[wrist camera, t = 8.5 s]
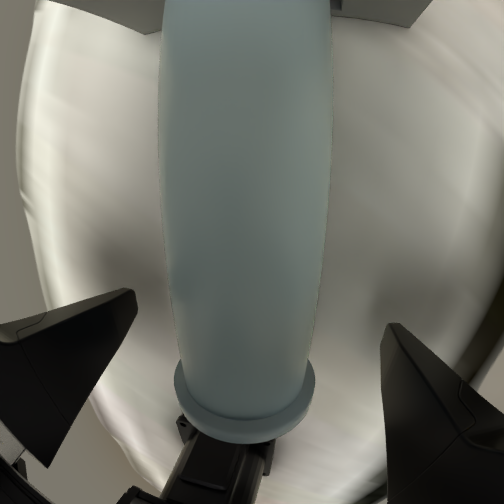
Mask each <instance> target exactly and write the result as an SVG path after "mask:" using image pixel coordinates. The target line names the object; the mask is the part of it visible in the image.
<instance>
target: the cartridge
mask: <svg viewBox="0 0 504 504" xmlns="http://www.w3.org/2000/svg"><path fill="white" fill-rule="evenodd" d="M332 131H333V50H332V28H331V12H330V0H165V6H164V14H163V24H162V35H161V47H160V63H159V85H158V159H159V183H160V200H161V214H162V226H163V237H164V247H165V257H166V265H167V274H168V282H169V289H170V296H171V303H172V310H173V316H174V323H175V329H176V334H177V340H178V346H179V351H180V356H181V359H180V361H179V363H178V365H177V367H176V370H175V375H174V386H175V390H176V394H177V398H178V401H179V405H180V408H181V410H182V412H183V414H184V415H185V417H186V418H187V420H188V421H189V422H190V423H191V424H192V425H193V426H194V427H196V428H197V429H198V430H199V431H201V432H203V433H204V434H206V435H208V436H210V437H213V438H215V439H218V440H221V441H225V442H230V443H236V444H253V443H260V442H265V441H269V440H272V439H275V438H277V437H280V436H282V435H284V434H286V433H287V432H289V431H290V430H292V429H293V428H294V427H295V426H296V425H298V424H299V423H300V421H301V420H302V419H303V418H304V416H305V415H306V413H307V411H308V409H309V406H310V404H311V400H312V396H313V392H314V387H315V374H314V370H313V367H312V365H311V363H310V361H309V359H308V356H309V350H310V344H311V339H312V333H313V327H314V320H315V314H316V307H317V300H318V293H319V286H320V279H321V271H322V263H323V254H324V245H325V236H326V225H327V214H328V203H329V189H330V174H331V156H332Z"/></svg>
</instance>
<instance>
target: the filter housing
mask: <svg viewBox="0 0 504 504" xmlns="http://www.w3.org/2000/svg"><path fill="white" fill-rule="evenodd" d="M49 1H53V2H57V3H60V4H64V5H67V6H70V7H74V8H77V9H80V10H83V11H86V12H89V13H92V14H95V15H97V16H100V17H103V18H105V19H108V20H111V21H113V22H116V23H118V24H120V25H123V26H125V27H128V28H130V29H132V30H134V31H137V32H139V33H141V34H143V35H145V34H148V33H152V32H156V31H160V30H162V24H163V14H164V6H165V0H49ZM431 1H432V0H330V12H331V16H342V17H351V18H359V19H366V20H373V21H378V22H384V23H389V24H394V25H399V26H403V27H407V28H410V27H411V26H412V24H413V23H414V22H415V21H416V19H417V18H418V17H419V16H420V15H421V13H422V12H423V11H424V10H425V9H426V7H427V6H428V5H429V4H430V3H431Z"/></svg>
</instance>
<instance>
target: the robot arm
mask: <svg viewBox="0 0 504 504" xmlns="http://www.w3.org/2000/svg"><path fill="white" fill-rule="evenodd" d="M137 313H138V305H137V301H136V296H135V292H134V290H132V289H129V288H121V289H118V290H115V291H111V292H108V293H105V294H102V295H98V296H95V297H92V298H89V299H86V300H82V301H79V302H76V303H73V304H70V305H67V306H63V307H60V308H57V309H54V310H51V311H48V312H44V313H41V314H38V315H34V316H31V317H27V318H24V319H20V320H16V321H12V322H8V323H4V324H0V504H55V503H53V502H52V501H51V500H50V499H48V498H47V497H46V496H44V495H43V494H42V493H41V492H40V491H39V490H37V489H36V488H35V487H34V486H33V485H32V484H30V483H29V482H28V480H27V473H26V465H25V461H24V460H23V459H22V458H21V455H22V454H23V453H24V452H25V451H27V452H28V453H29V454H30V455H31V456H32V457H34V458H35V459H36V460H37V461H38V462H39V463H41V464H42V465H43V466H44V467H46V468H47V469H48V467H49V466H50V464H51V463H52V461H53V459H54V457H55V455H56V453H57V451H58V449H59V448H60V446H61V444H62V442H63V440H64V438H65V437H66V435H67V433H68V431H69V429H70V428H71V427H70V426H72V424H73V422H74V420H75V419H76V417H77V415H78V413H79V412H80V410H81V408H82V407H83V405H84V403H85V402H86V400H87V398H88V397H89V395H90V393H91V392H92V390H93V388H94V387H95V385H96V383H97V382H98V380H99V379H100V377H101V375H102V374H103V372H104V371H105V369H106V367H107V366H108V364H109V363H110V361H111V359H112V358H113V356H114V355H115V353H116V352H117V350H118V349H119V347H120V345H121V344H122V342H123V340H124V338H125V336H126V334H127V332H128V330H129V329H130V327H131V325H132V323H133V321H134V319H135V317H136V315H137ZM380 361H381V393H382V402H383V412H384V422H385V435H386V452H387V501H388V502H387V504H504V414H503V413H502V412H500V411H499V410H498V409H497V408H495V407H494V406H493V405H492V404H490V403H489V402H488V401H487V400H485V399H484V398H483V397H481V395H479V394H478V393H477V392H476V391H475V390H474V389H473V388H472V387H470V386H469V385H468V384H467V383H466V382H465V381H464V380H462V378H461V377H460V376H459V375H458V374H456V373H455V372H454V371H453V370H452V369H451V368H450V367H449V366H448V365H447V364H445V363H444V362H443V361H442V360H441V359H440V358H439V357H438V356H437V355H435V354H434V353H433V352H432V351H431V350H430V349H429V348H428V347H426V346H425V345H424V344H423V343H422V342H421V341H420V340H418V339H417V338H416V337H415V336H414V335H413V334H412V333H410V332H409V331H408V330H407V329H406V328H405V327H403V326H402V325H401V324H400V323H388V324H387V326H386V329H385V332H384V335H383V338H382V341H381V345H380ZM176 423H177V426H178V429H179V432H180V435H181V438H182V440H183V443H184V448H183V450H182V452H181V454H180V456H179V458H178V460H177V462H176V464H175V466H174V468H173V470H172V473H171V475H170V477H169V479H168V481H167V483H166V485H165V487H164V489H163V491H162V493H161V495H160V497H159V498H158V497H155V496H153V495H151V494H149V493H146V492H144V491H143V490H142V489H140V488H138V487H136V486H132V487H131V488H129V489H128V491H127V492H126V493H124V494H123V496H122V497H121V498H120V500H119V501H118V502H117V503H116V504H255V500H256V497H257V493H258V489H259V486H260V482H261V478H262V476H269V474H270V469H271V464H272V458H273V453H274V447H275V441H276V439H272V440H269V441H265V442H260V443H253V444H236V443H230V442H225V441H221V440H218V439H215V438H213V437H210V436H208V435H206V434H204V433H203V432H201V431H199V430H198V429H197V428H196V427H194V426H193V425H192V424H191V423H190V422H189V421H188V420H187V418H186V417H184V416H179V417H178V419H177V421H176Z"/></svg>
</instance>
